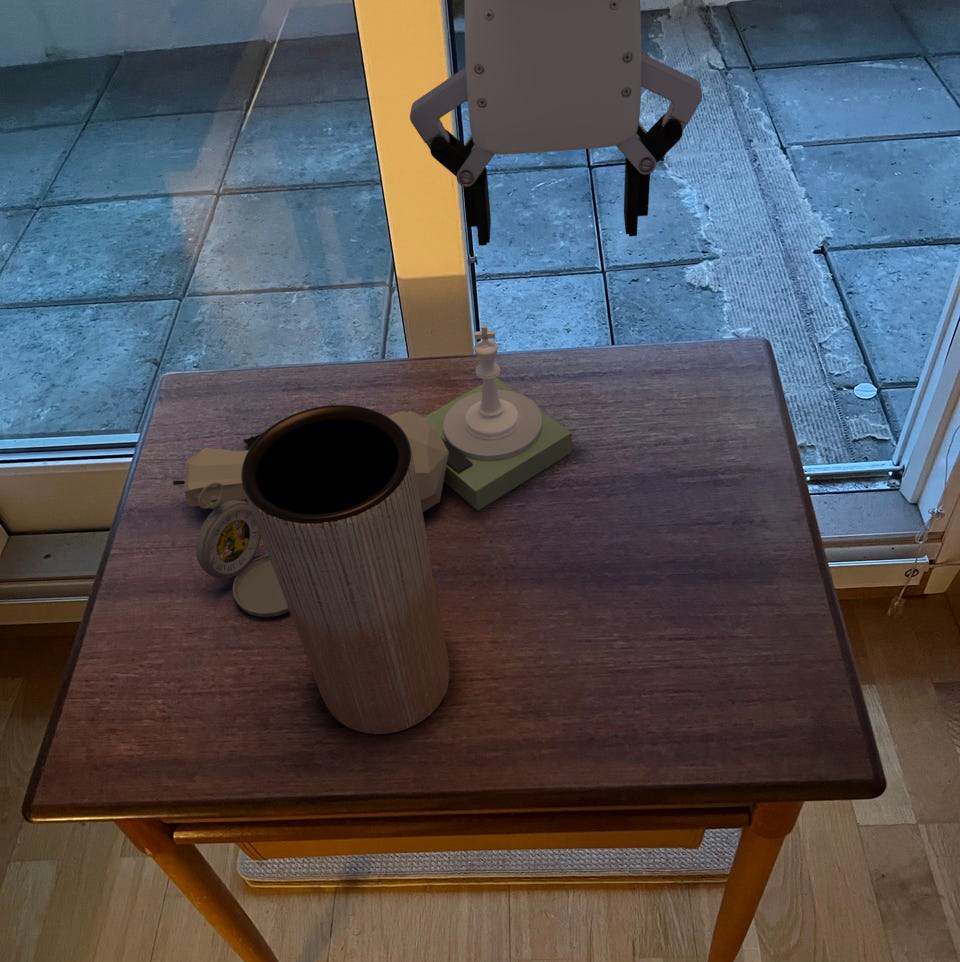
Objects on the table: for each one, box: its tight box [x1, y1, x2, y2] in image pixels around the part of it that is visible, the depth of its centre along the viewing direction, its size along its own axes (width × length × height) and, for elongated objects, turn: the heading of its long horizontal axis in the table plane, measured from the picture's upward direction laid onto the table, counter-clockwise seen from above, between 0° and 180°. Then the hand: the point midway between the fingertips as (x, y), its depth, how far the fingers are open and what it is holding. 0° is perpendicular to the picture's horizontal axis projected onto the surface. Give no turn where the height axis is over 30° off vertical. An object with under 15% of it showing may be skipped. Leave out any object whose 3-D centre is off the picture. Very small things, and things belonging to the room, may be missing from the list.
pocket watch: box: [195, 482, 290, 618], centre depth 76 cm, size 8×8×10 cm
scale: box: [424, 376, 573, 511], centre depth 87 cm, size 11×11×3 cm
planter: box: [241, 404, 450, 735], centre depth 64 cm, size 10×10×23 cm
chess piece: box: [465, 324, 520, 440], centre depth 82 cm, size 5×5×10 cm
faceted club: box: [172, 410, 449, 513], centre depth 83 cm, size 9×8×25 cm
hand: (557, 230), depth 63 cm, fingers open, 9 cm apart
